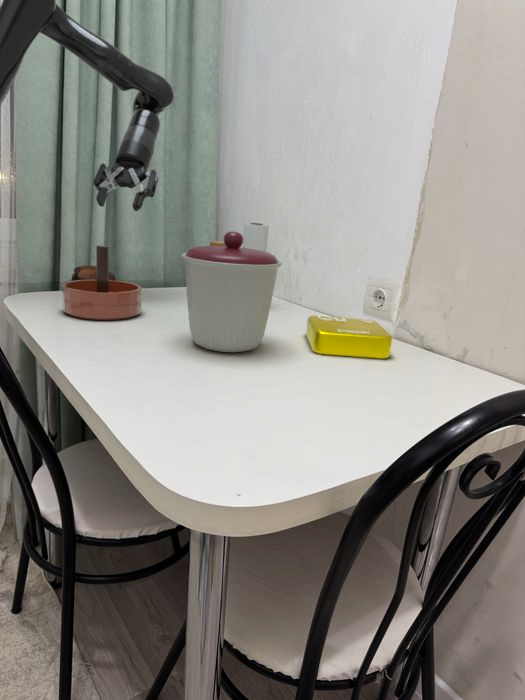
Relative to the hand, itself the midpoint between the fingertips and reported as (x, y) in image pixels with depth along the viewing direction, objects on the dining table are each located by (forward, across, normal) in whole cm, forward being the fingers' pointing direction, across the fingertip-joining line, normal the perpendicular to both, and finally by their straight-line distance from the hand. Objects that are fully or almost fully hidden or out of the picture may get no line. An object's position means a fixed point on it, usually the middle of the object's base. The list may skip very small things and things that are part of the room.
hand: (117, 206), depth 116 cm
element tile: (+25, +56, +2) cm, 61 cm away
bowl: (+24, +2, +5) cm, 25 cm away
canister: (+31, +34, -6) cm, 46 cm away
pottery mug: (+14, -10, +20) cm, 26 cm away
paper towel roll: (+9, +31, +26) cm, 41 cm away
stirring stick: (+24, +2, +4) cm, 24 cm away
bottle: (+3, +18, +34) cm, 39 cm away
